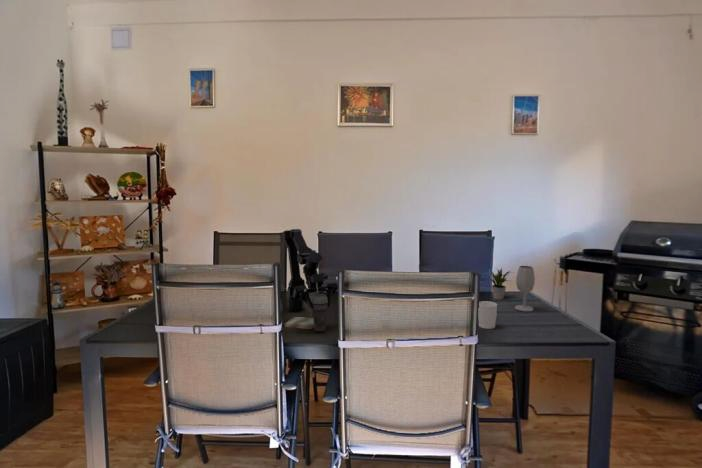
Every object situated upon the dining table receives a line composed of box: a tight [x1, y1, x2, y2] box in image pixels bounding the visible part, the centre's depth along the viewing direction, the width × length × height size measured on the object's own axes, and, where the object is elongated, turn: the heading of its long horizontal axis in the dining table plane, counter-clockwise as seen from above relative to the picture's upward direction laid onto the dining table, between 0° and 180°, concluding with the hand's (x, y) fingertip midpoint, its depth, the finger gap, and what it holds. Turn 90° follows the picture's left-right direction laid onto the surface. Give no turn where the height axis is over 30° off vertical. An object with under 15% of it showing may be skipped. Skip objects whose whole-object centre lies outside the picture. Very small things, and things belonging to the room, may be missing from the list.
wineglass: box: [514, 265, 536, 313], centre depth 213 cm, size 9×9×21 cm
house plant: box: [488, 267, 515, 300], centre depth 233 cm, size 14×14×16 cm
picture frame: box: [284, 316, 314, 330], centre depth 195 cm, size 12×10×2 cm
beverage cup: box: [310, 282, 328, 332], centre depth 185 cm, size 7×7×20 cm
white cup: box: [477, 300, 498, 330], centre depth 190 cm, size 8×8×10 cm
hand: (320, 307), depth 183 cm, fingers closed on beverage cup, 7 cm apart
